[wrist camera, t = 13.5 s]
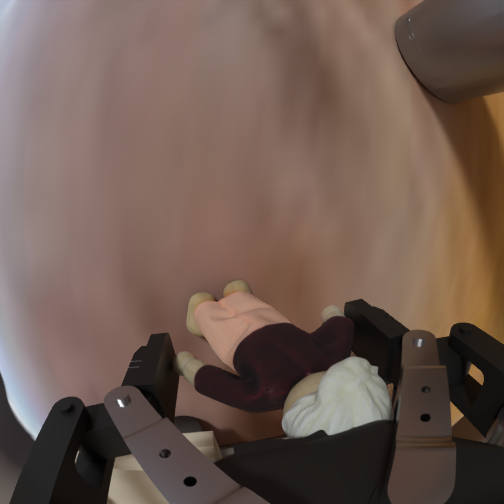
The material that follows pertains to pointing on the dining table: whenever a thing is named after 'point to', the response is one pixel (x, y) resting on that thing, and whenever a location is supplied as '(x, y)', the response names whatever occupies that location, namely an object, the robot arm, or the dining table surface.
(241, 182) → the dining table surface
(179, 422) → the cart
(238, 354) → the grandmother figurine
